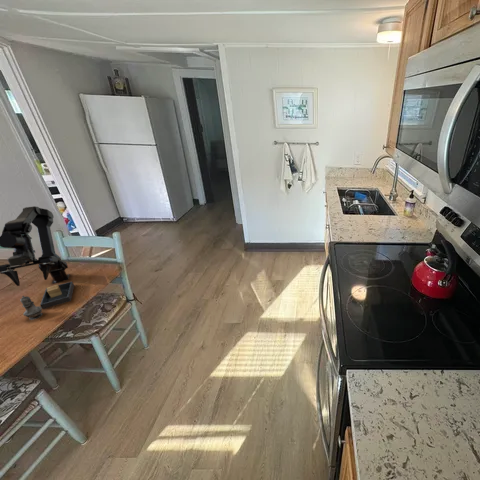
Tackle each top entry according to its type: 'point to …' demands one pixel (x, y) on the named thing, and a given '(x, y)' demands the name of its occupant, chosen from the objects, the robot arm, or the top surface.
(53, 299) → the tray
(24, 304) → the grey statuette
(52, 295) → the block
